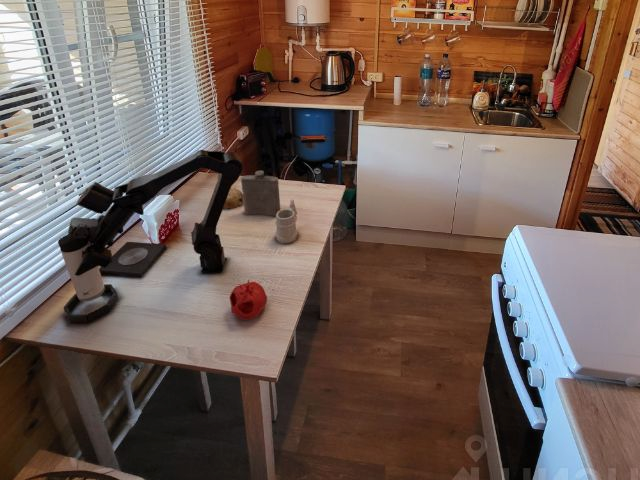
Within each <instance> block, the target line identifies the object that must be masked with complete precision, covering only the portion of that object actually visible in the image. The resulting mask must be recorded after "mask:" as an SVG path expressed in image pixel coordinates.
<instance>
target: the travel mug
mask: <svg viewBox="0 0 640 480" xmlns="http://www.w3.org/2000/svg"><path fill="white" fill-rule="evenodd" d="M57 243H58V247H59V249H60V253H61V256H62V258H63V261H64V263H65V264H64V265H65V267H66V269H67V272H68V274H69V277H70V280H71V282H72V285H73V288H74V291H75V294H77V296H78V299H79V300H80V301H79V302H82V303H83V302H84V303H85V302H91V301H94V300H95V299H97V298H99V297H100V296H102V295H103V294H104V293H103V292H104V290H105V286H104V284H105V283H104V280H103V278H102V274H100V271H99V268H100V267H99V266H97V267H95V268H93V269H91V270H89V271H87V272H85V273H84V274H82V275H80V276H76V275H75V273H76V271H77V269H78V267H79V265H80V264H81V262H82V260H83V258H82V251H85V250H86V248H87V247H88V246H91V244H90V241H89V240H88V237H86V238H71V237H69V236H68V233H67V234H65V235H63V236H62V237H60V238H58V241H57Z"/></svg>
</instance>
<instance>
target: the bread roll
mask: <svg viewBox="0 0 640 480" xmlns="http://www.w3.org/2000/svg"><path fill="white" fill-rule="evenodd" d="M243 202H244V200H243V192H242V191H241V190H240V189H239V188H238V189H237V188H236V187H231V188H230V191H229V194H228V196H227V199H226V202H225V205H224V207H223V209H233V208H237V207H238V206H241V205H242V204H243Z"/></svg>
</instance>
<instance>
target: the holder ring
mask: <svg viewBox="0 0 640 480" xmlns="http://www.w3.org/2000/svg"><path fill="white" fill-rule="evenodd" d="M104 286H105V290H104V292H103V293H102V294H111V296H110V298H109V299H108V300H107V301H106V303H105V304H104V305H102V306H100V307H99V308H97V309H95V310H93V311H91V312H89V313H85V314H72V313H71V312H72V311H73V310H74V308H75V307H76V306H77V305H78V303H80V302H81V301H80V300H79V299H78V296H77V294H76V293H74V295H73V296H72V297H71V298H70V299H69V300H68V301H67V302H66V303H65V305H64V306H63V310H64V313H65V316H66V319H67V320H68V323H69V324H70V325H85V324H86V325H87V324H91V323H93V322H95V321H97V320H99V319H100V318H102V317H105V316H106V315H108V314H109V313H110V312H111V311H112V310H113V308H114V307H115V305H116V304H117V303H118V302H119V299H120V298H119V296H118V292H117V290H116V289H115V288H114V286H113V284H110V283H107V284H105V283H104Z"/></svg>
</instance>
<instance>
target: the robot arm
mask: <svg viewBox="0 0 640 480" xmlns="http://www.w3.org/2000/svg"><path fill="white" fill-rule="evenodd" d="M200 169H207V170H210V171H212V172H215V173H216V174H217V181H216V184H215V186H214V189H213V192H212V195H211V197H210V201H209V203H208V206H207V208H206V211H205V214H204V217H203V219H202V220H201V222H195V223H194V225H193V226H194V227H193V229H192V231H191V232H190V233H191V234H190V235H191V244H192V246H193V251H194V252H195V253H196V254H198V255H200V256H199V257H198V258H199V264H200V268H201V270H200V273H201V274H222V273H223V271H224V269H225V266H226V263H227V261H228V258H227V257H226V256H225V255H226V254H225V249H224V246H222V241H221V238H220V234H217V226H218V224H219V220H220V218H221V215H222V212H223V210H224V208H223V207H224V205H225V202H226V199H227V196H228V194H229V191H230V188H232V186H233V185H234V184H235V183H237V181H238V180H239V178H240V177H241V175H242V173H243V170H244V165H243V163H242V160H241V158H240V156H239V155H238V153H236V152H234V151H227V152H224V151H221V150H220V151H219V150H206V149H199V150H197V151H195V153H193V154H191V155H188V156H187V157H185V158H183V159H181V160H179V161H177V162H175V163H173V164H171V165H169V166H167V167H166V168H163V169H161V170H159V171H157V172H155V173H150V174H144V175H142V176H138V177H135V178H132V179H131V180H130V181H128V182H127V183H124V184H121V185H117V186H115V187H114V189H113V190H112V189H110V188H108V187H107V186H104V185H102V184H100V183H99V182H96V181H95V182H93V183H92V184H90V185H89V186H88V187H86V189H85V190H84V191H83V192H82V193H81V195H80V196H79V198H78V199H77V201H76V205H77V206H79V207H81V208H84V209H86V210H88V211H90V212H93V213H96V214H99V216H98V217H97V218H94V217H92V218H88V217H72V218H71V220H70V223H69V226H68V230H67V234H68V236H69V237H71V238H86V237H88V240H89V241H90V244H91V246H88V247H87V248H86V250H85V251H82V258H83V260H82V262H81V264H80V265H79V267H78V269H77V271H76V273H75V275H76V276H80V275H82V274H84V273H85V272H87V271H89V270H91V269H93V268H95V267H97V266H98V267H104V268H107V267H108V266H109V265H110V264H111V262H112V256H113V254H112V250H111V249H108V248H106V246H108V247H113V245H114V243H115V242H114V240H115V238H116V237H117V236H118V235H119V234H120V235H122V234H123V232H124V227H125V226H126V225H127V223H128V222H129V221H130V220H131V218H132V217H133V216H134V214H137V215H140V216H143V215H144V214H145V212H144V205H145V204H147V203H148V202H149V201H151V200H152V199H154V198H155V197H156V196H157V195H158V194H159V193H160V192H161V191H162V190H163V189H164V188H166V187H168V186H170V185H172V184H175V183H176V182H178V181H180V180H182V179H184V178H185V177H187V176H189V175H191V174H192V173H195V172H196V171H199V170H200ZM105 212H106V213H105ZM103 213H105V214H103Z"/></svg>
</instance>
